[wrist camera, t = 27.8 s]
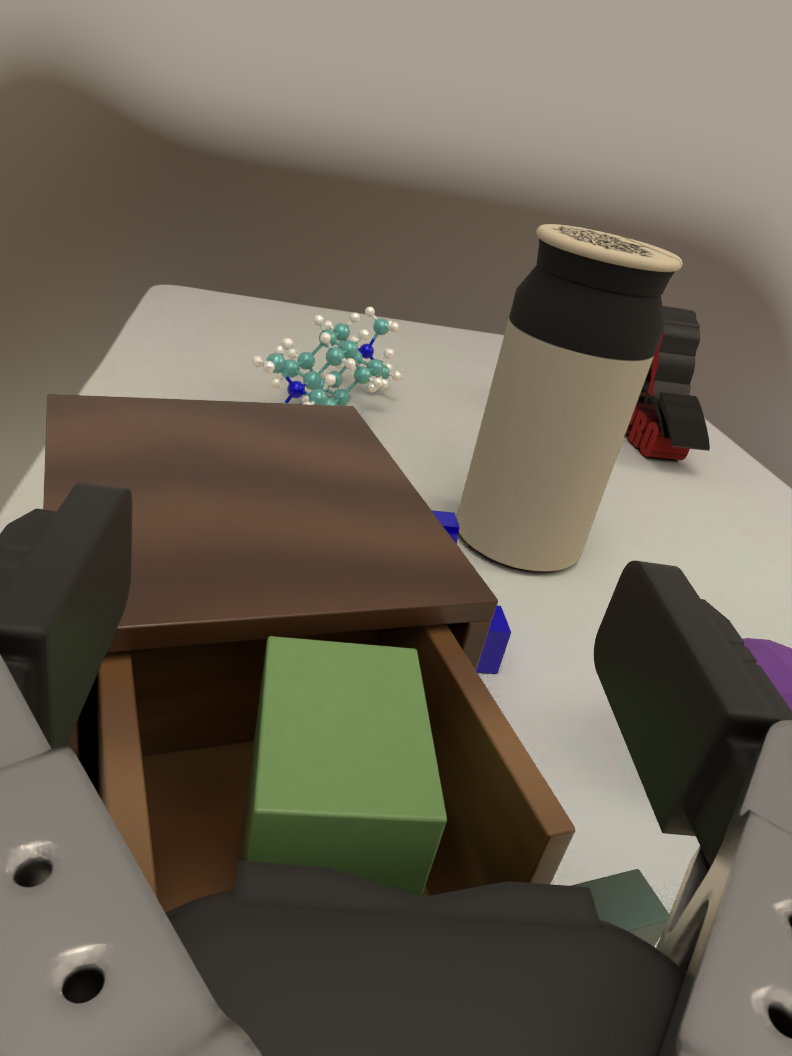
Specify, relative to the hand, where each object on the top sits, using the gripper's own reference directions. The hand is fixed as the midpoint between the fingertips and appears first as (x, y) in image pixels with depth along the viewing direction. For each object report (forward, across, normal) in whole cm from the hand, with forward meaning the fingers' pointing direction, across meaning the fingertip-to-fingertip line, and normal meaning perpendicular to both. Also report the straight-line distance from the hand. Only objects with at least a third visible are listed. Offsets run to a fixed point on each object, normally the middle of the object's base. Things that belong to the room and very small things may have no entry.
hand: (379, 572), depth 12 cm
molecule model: (+46, 0, +16) cm, 49 cm away
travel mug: (+30, -12, +16) cm, 36 cm away
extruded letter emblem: (+53, -28, +16) cm, 62 cm away
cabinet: (+13, +3, +16) cm, 21 cm away
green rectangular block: (+3, 0, +14) cm, 14 cm away
